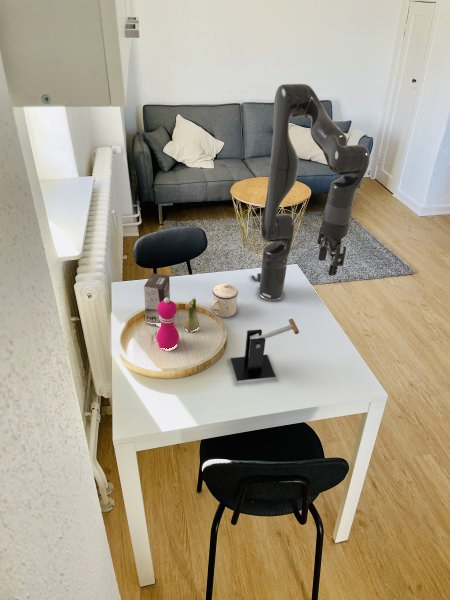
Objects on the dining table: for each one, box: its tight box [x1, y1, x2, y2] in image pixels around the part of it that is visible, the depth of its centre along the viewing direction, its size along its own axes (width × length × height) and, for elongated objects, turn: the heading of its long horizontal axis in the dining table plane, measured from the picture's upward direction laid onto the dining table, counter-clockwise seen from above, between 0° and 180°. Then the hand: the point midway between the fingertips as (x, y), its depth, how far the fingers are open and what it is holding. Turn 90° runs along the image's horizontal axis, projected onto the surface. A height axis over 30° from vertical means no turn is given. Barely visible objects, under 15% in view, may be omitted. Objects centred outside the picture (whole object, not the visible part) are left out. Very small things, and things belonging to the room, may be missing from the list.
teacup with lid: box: [210, 282, 239, 318], centre depth 163 cm, size 12×9×12 cm
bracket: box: [230, 328, 276, 382], centre depth 138 cm, size 12×10×14 cm
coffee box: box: [143, 272, 171, 327], centre depth 157 cm, size 9×6×16 cm
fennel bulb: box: [184, 297, 200, 331], centre depth 153 cm, size 6×5×12 cm
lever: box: [250, 318, 300, 340], centre depth 135 cm, size 14×6×2 cm, turn 100°
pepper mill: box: [156, 297, 180, 349], centre depth 143 cm, size 7×7×20 cm
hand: (326, 267), depth 137 cm, fingers open, 8 cm apart
